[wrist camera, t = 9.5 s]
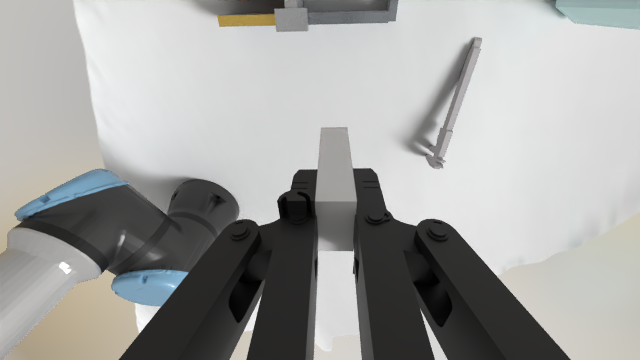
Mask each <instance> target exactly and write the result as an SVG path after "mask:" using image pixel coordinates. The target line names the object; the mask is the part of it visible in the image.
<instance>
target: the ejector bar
mask: <svg viewBox="0 0 640 360" xmlns="http://www.w3.org/2000/svg"><path fill="white" fill-rule="evenodd" d="M284 4H285V8H279V9H274V12H275V21H276V30H277V32H287V31H308V30H309V28H308V8H303V0H284Z"/></svg>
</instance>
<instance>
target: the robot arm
mask: <svg viewBox="0 0 640 360" xmlns="http://www.w3.org/2000/svg"><path fill="white" fill-rule="evenodd" d="M277 203H278V208H279V214H280V219H278V220H277V221H275V222H272V223H269V224H265V225H261V226H258V225H257V224H256V222H254V221H252V220H249V219H242V220H237V218H238V215H239V206H238V203H237V201H236V200H235V198H234V197H233V196H232V195H231V194H230V193H229V192H228V191H227V190H226V189H224V188H223V187H221V186H219V185H217V184H215V183H212V182H209V181H204V180H191V181H187V182H185V183H183V184H182V185H180V186H179V188H178V189H177V190H176V191H175V192H174V194H173V196H172V198H171V202H170V205H169V209H168V212H167V215H166V214H164V213H163V212H162V211H161V210H160V209H158V208H157V207H156V206H155V205H153V204H152V203H151V202H150V201H148V200H147V199H146V198H145V197H144V196H142V195H141V194H140V193H139V192H137V191H136V190H135V189H134V188H132V187H131V186H130V184H129V183H128V182H124V181H123V180H122V179H120V178H119V177H118V176H116V175H115V174H114V173H112V172H111V171H109V170H106V169H96V170H92V171H89V172H87V173H85V174H82V175H80V176H78V177H76V178H74V179H72V180H70V181H68V182H66V183H64V184H62V185H60V186H58V187H57V188H54V189H53V190H51V191H49V192H47V193H46V194H45V195H43V196H41V197H39V198H37V199H35V200H33V201H31V202H29V203H28V204H26V205H24V206H23V207H21V208H20V209H18V210H17V211H16V212H15V216H16V217H17V220H19V221H22V222H21V223H20V224H19V225H17V226H16V227H14V228H13V229H11V230H10V231H9V232H8V234H7V249H6V250H5V251H4V252H3V253H1V254H0V360H3V359H4V358H5V357H6V356H7V355H8V354H9V353H10V352H11V351H12V350H13V349H14V348H15V347H16V346H17V344H18V343H19V342H20V341H21V340H22V339H23V338H24V337H25V336H26V335H27V334H28V333H29V332H30V331H31V330H32V329H33V328H34V327H35V326H36V325H37V324H38V323H39V322H40V321H41V320H42V319H43V318H44V317H45V316H46V315H47V313H49V311H51V310H52V309H53V307H54V306H55V305H56V304H57V303H58V302H59V301H60V300H61V299H62V298H63V297H64V296H65V295H66V294H67V293H68V292H69V291H70V290H71V289H72V288H73V287H74V286H75V285H76V284H78V283H80V282H84V281H88V280H92V279H96V278H98V277H99V276H100V275H101V274H102V273H103V272H104V271H105V270H108V271H110V272H111V273H113V274H115V275H116V277H115V278H114V279H113V282H112V285H111V287H112V290H113V291H115V294H117V295H118V296H120V297H122V298H124V299H126V300H128V301H131V302H135V303H139V304H143V305H149V306H161V308H160V309H159V310H158V311H157V313H156V314H155V315H154V316H153V318H152V319H151V320H150V321H149V323H148V324H147V325H146V326H145V328H144V329H143V330H142V331H141V333H140V334H139V335H138V337H137V338H136V339H135V340H134V342H133V343H132V344H131V345H130V346H129V348H128V349H127V350H126V352H125V353H124V354H123V355H122V356H121V358H120V359H119V360H229V359H230V357H231V355H232V353H233V351H234V349H235V347H236V345H237V343H238V341H239V339H240V337H241V335H242V333H243V331H244V329H245V327H246V325H247V323H248V321H249V319H250V317H251V315H252V313H253V311H254V309H255V307H256V305H257V303H258V301H259V299H260V296H261V294H262V296H261V301H260V305H259V309H258V313H257V317H256V322H255V326H254V330H253V334H252V338H251V343H250V347H249V351H248V355H247V360H313V358H314V357H313V355H314V337H315V316H316V295H317V275H318V251H353V250H354V266H353V274H355V283H356V295H357V306H358V318H359V330H360V341H361V353H362V360H435V359H434V355H433V352H432V348H431V345H430V342H429V338H428V335H427V331H426V328H425V324H424V321H423V317H422V314H421V311H422V312H423V314H424V316H425V318H426V320H427V322H428V324H429V325H430V327H431V329H432V331H433V333H434V335H435V337H436V339H437V340H438V342H439V344H440V346H441V348H442V350H443V352H444V353H445V355H446V357H447V359H448V360H570V359H569V357H568V356H567V355H566V354H565V353H564V352H563V350H562V349H561V348H560V347H559V346H558V345H557V344H556V343H555V341H554V340H553V339H552V338H551V337H550V336H549V335H548V334H547V332H546V331H545V330H544V329H543V328H542V327H541V326H540V325H539V324H538V322H537V321H536V320H535V319H534V318H533V317H532V316H531V314H530V313H529V312H528V311H527V310H526V309H525V308H524V307H523V305H522V304H521V303H520V302H519V301H518V300H517V299H516V297H515V296H514V295H513V294H512V293H511V292H510V291H509V290H508V289H507V287H506V286H505V285H504V284H503V283H502V282H501V281H500V280H499V278H497V276H496V275H495V274H494V273H493V272H492V270H491V269H490V268H489V267H488V266H487V265H486V264H485V263H484V261H483V260H482V259H481V258H480V257H479V256H478V255H477V254H476V252H475V251H474V250H473V249H472V248H471V247H470V246H469V245H468V243H467V242H466V241H465V240H464V239H463V238H462V237H461V236H460V234H459V233H458V232H457V231H456V230H455V229H454V228H453V227H452V226H450V225H449V224H447V223H445V222H443V221H441V220H436V219H426V220H423V221H421V222H420V223H419V224H418V225H417V226H414V225H410V224H406V223H403V222H400V221H398V220H396V219H394V218H393V216H392V214H391V213H390V212H389V211H387V209H386V206H385V202H384V198H383V195H382V191H381V188H380V184H379V180H378V176H377V174H376V173H375V172H374V171H373V170H372V169H371V168H363V169H353V168H352V160H351V152H350V145H349V137H348V130H347V127H332V128H321V136H320V148H319V160H318V170H298V172H297V173H296V174H295V175H294V177H293V181H292V186H291V190H290V191H288V192H285V193H284V194H282V195H281V196H280V197H279V199H278V200H277ZM236 220H237V221H236ZM420 309H421V310H420Z"/></svg>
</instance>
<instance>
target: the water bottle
mask: <svg viewBox="0 0 640 360" xmlns="http://www.w3.org/2000/svg"><path fill="white" fill-rule="evenodd" d="M555 7H556V8H557V9H558V10H560V11H561V12H562V13H563V14H564V15H565V16H566V17H568V18H569V19H570V20H571V21H572V22H573V23H577V24H587V25H597V26H607V27H618V28H628V29H638V30H640V0H556V6H555Z"/></svg>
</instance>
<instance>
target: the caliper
mask: <svg viewBox="0 0 640 360" xmlns="http://www.w3.org/2000/svg"><path fill="white" fill-rule="evenodd" d="M481 42H482V39H481V38H475V39H474V41H473V44H472V48H470V51H469V53H468V55H467V58H466V60H465V63H464V66H463V69H462V72H461V75H460V78H459V81H458V84H457V87H456V90H455V93H454V96H453V99H452V102H451V105H450V108H449V111H448V114H447V117H446V120H445V123H444V126H443V128H440V132H439V135H438V138H437V144H436V146H430V147H429V150H430V151H431V152H433V153H434V156H433V157H432V156H431V155H426V159H427V161H428V163H429V165H430V166H431V167H433V168H434V169H440V168H443V165H442V163H444V162H446V161H445V160H443V158H442V157H444V156H445V153H446V150H447V147H448V144H449V142H450V139H451V136H452V133H453V131H452V129H453V126H454V124H455V121H456V118H457V115H458V112H459V110H460V107H461V104H462V101H463V98H464V96H465V93H466V90H467V87H468V84H469V81H470V79H471V76H472V73H473V70H474V67H475V65H476V62H477V59H478V56H479V53H480V50H481V49H479V48H480V45H481Z"/></svg>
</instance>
